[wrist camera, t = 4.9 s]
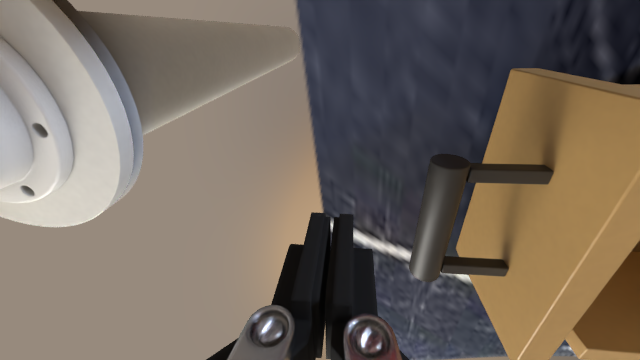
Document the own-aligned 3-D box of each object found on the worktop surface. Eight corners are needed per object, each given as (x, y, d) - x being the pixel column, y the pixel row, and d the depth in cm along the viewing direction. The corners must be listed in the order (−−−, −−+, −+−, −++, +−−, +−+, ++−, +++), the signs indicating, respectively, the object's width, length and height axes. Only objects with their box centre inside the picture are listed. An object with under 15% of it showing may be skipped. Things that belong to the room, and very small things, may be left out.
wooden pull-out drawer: (390, 245, 18) (412, 358, 12) (416, 69, 13) (481, 107, 6) (678, 259, 17) (881, 401, 10) (855, 63, 11) (1548, 106, 5)
